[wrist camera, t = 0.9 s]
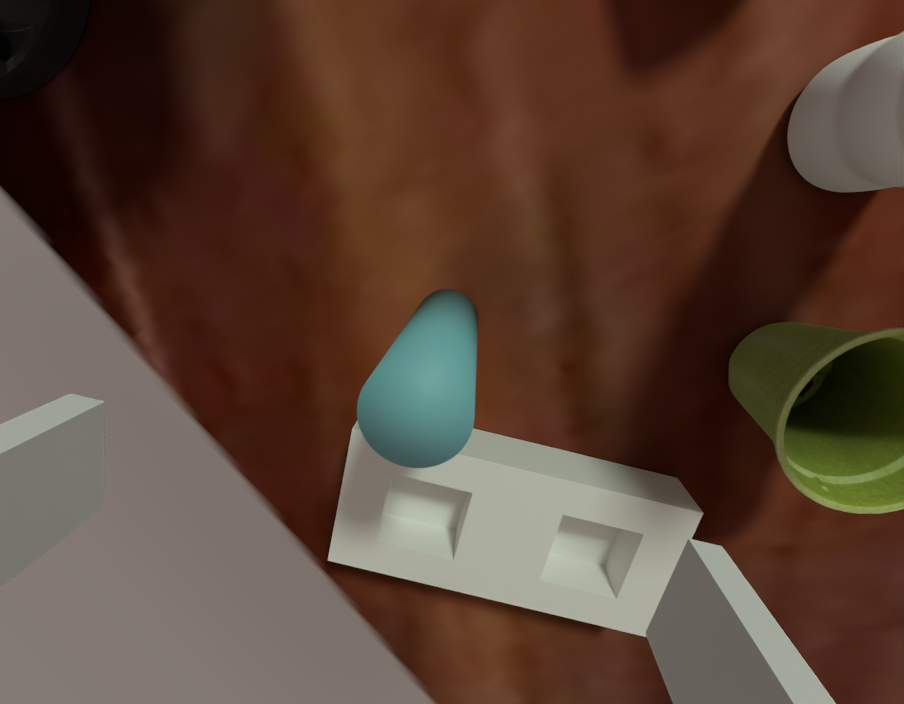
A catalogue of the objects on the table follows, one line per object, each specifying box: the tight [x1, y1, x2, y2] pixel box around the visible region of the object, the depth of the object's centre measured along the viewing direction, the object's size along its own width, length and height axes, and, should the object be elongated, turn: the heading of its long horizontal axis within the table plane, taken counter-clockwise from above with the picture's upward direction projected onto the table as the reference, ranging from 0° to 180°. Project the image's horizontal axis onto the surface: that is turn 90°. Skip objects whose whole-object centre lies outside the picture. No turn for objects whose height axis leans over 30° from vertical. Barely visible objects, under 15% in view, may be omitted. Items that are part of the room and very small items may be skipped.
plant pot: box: [728, 322, 904, 514], centre depth 26 cm, size 9×9×9 cm
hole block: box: [328, 420, 703, 637], centre depth 32 cm, size 10×22×4 cm, turn 77°
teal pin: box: [357, 289, 478, 468], centre depth 23 cm, size 4×4×15 cm
